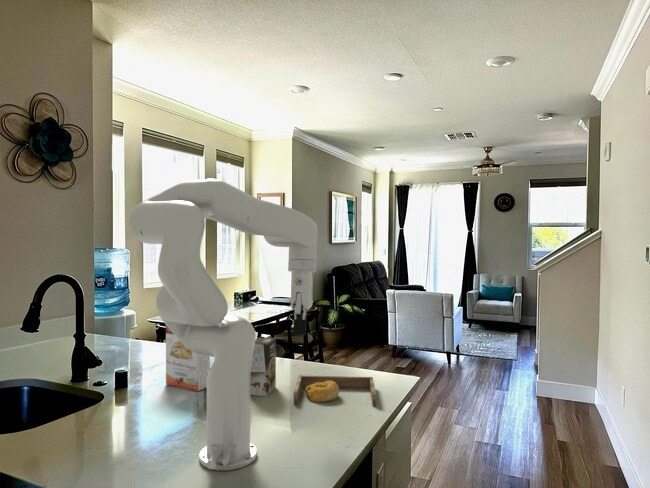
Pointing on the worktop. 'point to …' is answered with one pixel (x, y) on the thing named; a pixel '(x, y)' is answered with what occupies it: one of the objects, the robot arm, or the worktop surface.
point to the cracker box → (185, 365)
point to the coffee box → (263, 367)
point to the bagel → (322, 391)
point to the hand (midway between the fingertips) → (299, 333)
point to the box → (340, 381)
